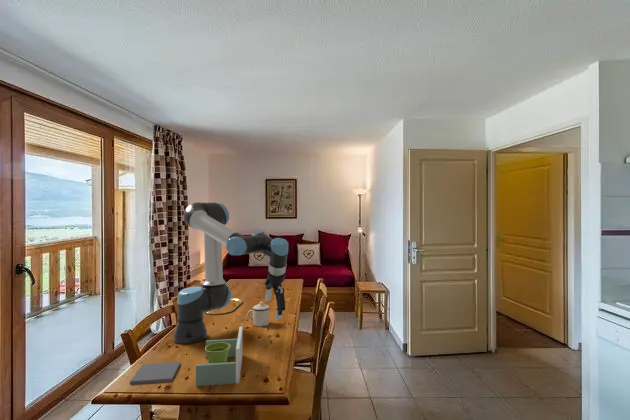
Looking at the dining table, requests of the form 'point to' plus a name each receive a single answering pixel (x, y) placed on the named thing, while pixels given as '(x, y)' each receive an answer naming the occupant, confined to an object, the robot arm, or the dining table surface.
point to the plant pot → (217, 352)
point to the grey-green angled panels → (222, 365)
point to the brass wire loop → (228, 311)
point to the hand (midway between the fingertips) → (273, 309)
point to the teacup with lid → (260, 314)
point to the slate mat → (156, 372)
